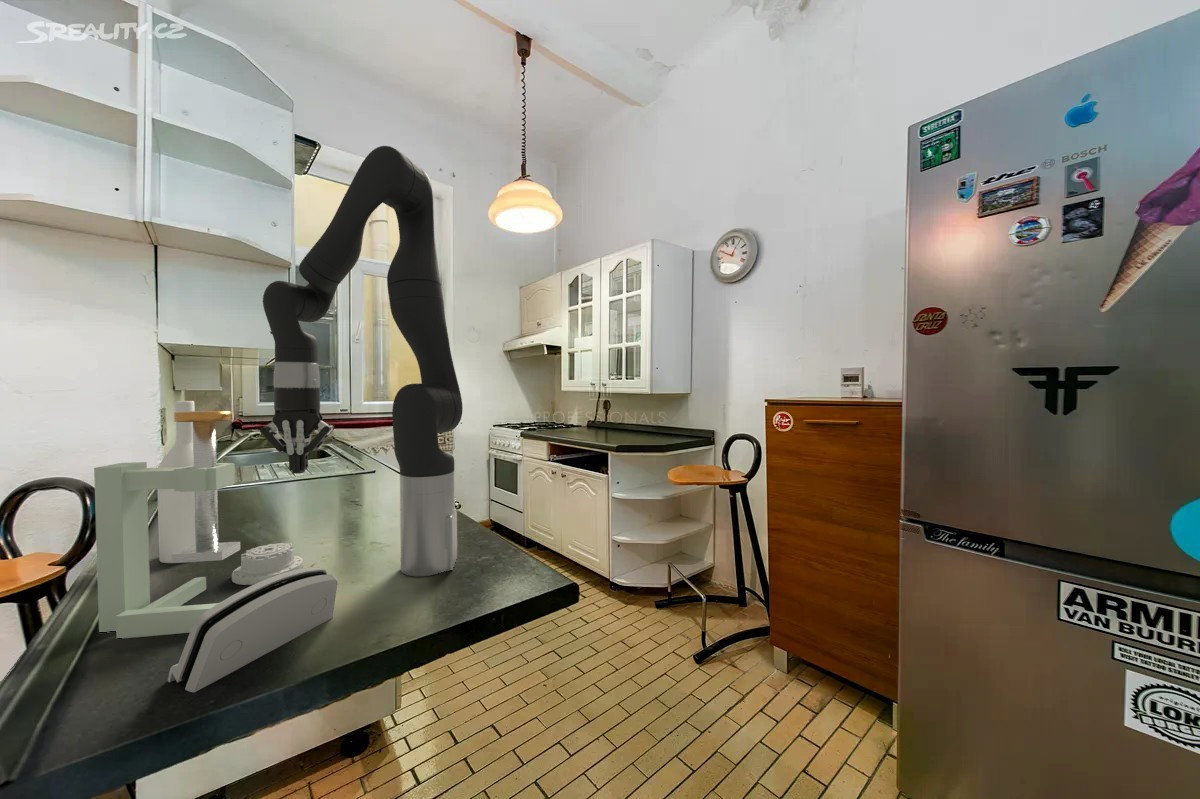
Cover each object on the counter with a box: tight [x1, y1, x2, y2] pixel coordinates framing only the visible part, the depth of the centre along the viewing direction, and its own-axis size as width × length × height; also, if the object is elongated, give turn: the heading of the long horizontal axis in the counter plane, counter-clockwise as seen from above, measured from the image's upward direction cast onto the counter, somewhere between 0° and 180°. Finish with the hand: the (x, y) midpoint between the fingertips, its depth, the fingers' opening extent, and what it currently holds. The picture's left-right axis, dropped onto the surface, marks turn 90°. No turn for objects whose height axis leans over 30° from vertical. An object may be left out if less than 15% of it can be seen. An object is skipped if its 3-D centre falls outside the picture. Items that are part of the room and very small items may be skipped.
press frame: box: [93, 461, 236, 639], centre depth 64 cm, size 20×14×22 cm
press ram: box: [171, 410, 241, 564], centre depth 61 cm, size 6×6×20 cm
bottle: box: [156, 400, 196, 564], centre depth 85 cm, size 8×8×30 cm
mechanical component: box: [231, 542, 304, 586], centre depth 77 cm, size 10×4×10 cm
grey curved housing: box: [167, 567, 339, 693], centre depth 55 cm, size 17×5×10 cm, turn 160°
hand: (298, 472), depth 87 cm, fingers closed
